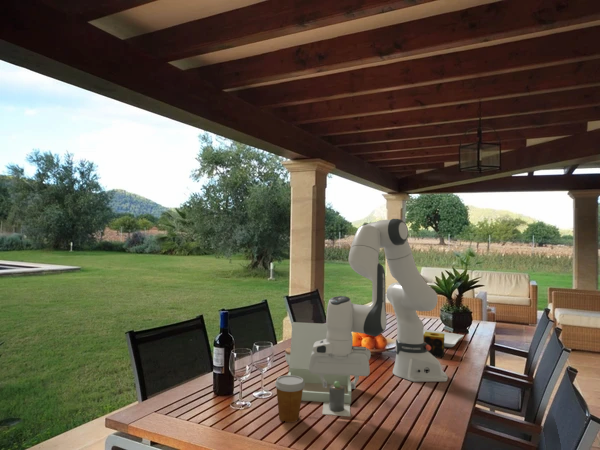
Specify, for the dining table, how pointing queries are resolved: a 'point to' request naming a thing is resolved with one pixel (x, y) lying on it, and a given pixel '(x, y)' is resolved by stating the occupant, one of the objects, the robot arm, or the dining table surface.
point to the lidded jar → (288, 355)
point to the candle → (435, 343)
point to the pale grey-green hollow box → (300, 359)
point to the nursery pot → (336, 397)
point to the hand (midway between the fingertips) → (338, 387)
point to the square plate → (448, 338)
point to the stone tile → (343, 413)
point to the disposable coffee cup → (289, 397)
